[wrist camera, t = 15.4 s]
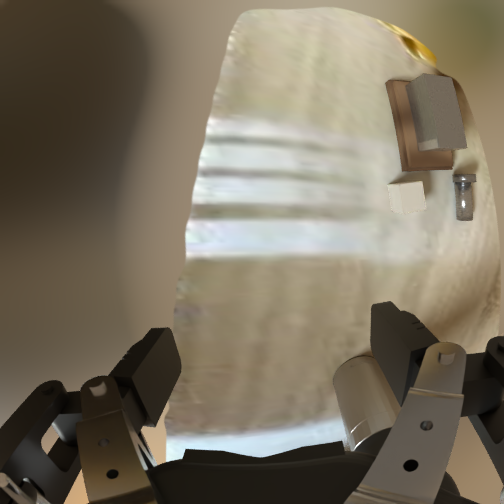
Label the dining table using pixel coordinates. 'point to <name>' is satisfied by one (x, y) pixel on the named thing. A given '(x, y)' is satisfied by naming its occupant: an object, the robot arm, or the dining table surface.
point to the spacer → (407, 197)
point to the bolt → (464, 195)
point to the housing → (436, 113)
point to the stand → (412, 134)
